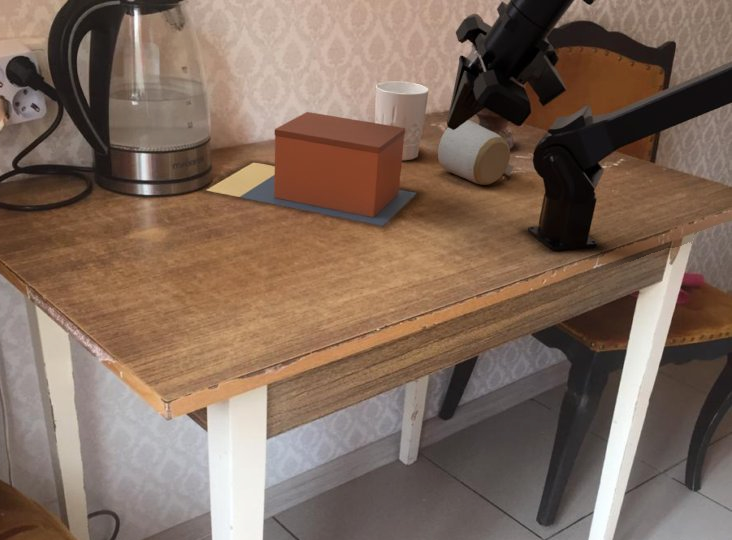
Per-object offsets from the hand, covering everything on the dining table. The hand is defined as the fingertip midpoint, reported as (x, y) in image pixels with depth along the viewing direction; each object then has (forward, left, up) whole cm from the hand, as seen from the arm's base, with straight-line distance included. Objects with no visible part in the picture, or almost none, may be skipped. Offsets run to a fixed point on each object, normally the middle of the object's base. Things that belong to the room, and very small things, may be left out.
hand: (450, 127), depth 106 cm
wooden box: (+9, +11, -11) cm, 18 cm away
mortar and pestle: (+28, -20, -12) cm, 36 cm away
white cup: (+26, -4, -12) cm, 29 cm away
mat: (+11, +14, -11) cm, 21 cm away
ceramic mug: (+14, -12, -12) cm, 22 cm away
